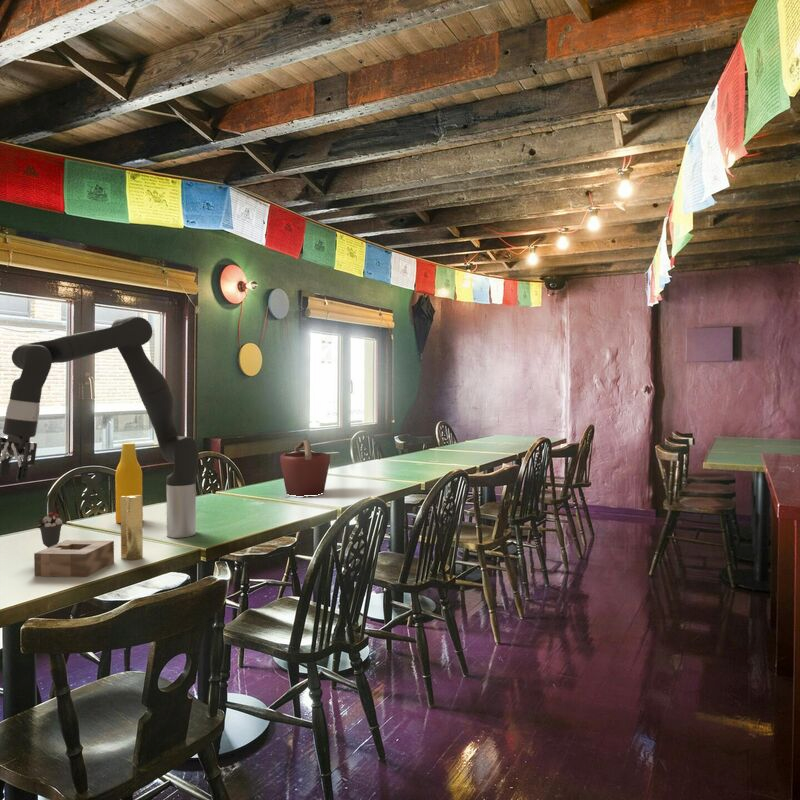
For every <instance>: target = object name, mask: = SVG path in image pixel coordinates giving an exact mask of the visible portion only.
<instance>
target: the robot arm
mask: <svg viewBox="0 0 800 800" xmlns="http://www.w3.org/2000/svg"><path fill="white" fill-rule="evenodd" d="M152 337H153V326H152V324H151V323H150V322H149V321H148V320H147V319H146V318H144V317H141V316H135V315H134V316H127V317H120V318H117V319H115V320H114V321H113V322H112V323H111V326H110V327H107V328H106V327H105V328H102V329H101V328H100V329H95V330H89V331H85V332H84V331H83V332H82V331H81V332H78V333H73V334H68V335H64V336H61V337H56V338H53V339H49V340H42V341H36V342H35V341H34V342H30V343H25V344H21V345H19V346H17V347H16V348H15V349H14V350H13V351H12V354H11V361H12V363H13V364H14V366H15V367H17V368H18V369H20V370H21V373H20V376H19V378H16V379H14V380H13V382H12V385H11V390H10V396H9V400H8V401H9V402H8V404H7V407H6V412H5V418H4V424H3V430H2V433H3V435H6V436H0V477H8V476H9V475H10V468H11V461H12V460H13V459H15V460H17V463H18V466H17V471H16V476H15V477H16V479H15V480H16V481H18V482H25V481H26V480H27V478H28V477H27V476H28V469H29V467H31V466H34V465H35V462H36V456H37V447H38V443H37V442H33V441H32V442H31V441H30V440H31V439H30V438H34V437H36V435H37V429H38V424H39V417H40V403H41V399H42V391H43V390H42V389H43V387H44V385H45V383H46V381H47V379H48V376H49V373H50V371H51V368H52V364H60V363H67V362H71V361H75V360H79V359H82V358H85V357H89V356H92V355H95V354H98V353H101V352H105V351H109V350H112V349H118V351H119V353H120V355H121V357H122V358H123V360H124V362H125V364H126V366H127V368H128V371H129V374H130V375H131V378H132V380H133V383H134V384H135V387H136V389H137V392H138V395H139V397H140V399H141V402H142V404H143V406H144V409H145V410H146V413H147V415H148V418H149V420H150V423H151V425H152V427H153V428H152V429H154V430H153V431H154V432H155V437H156V439H157V440H156V441H157V443H158V447H159V449H160V453H161V455H162V457H163V459H164V460H165V461H166V462H169V463H171V464H173V471H172V473H171V474H169V475H167V476H166V484H165V485H166V487H165V488H166V536H167V537H168V538H173V539H177V538H179V539H181V538H189V537H193V536H195V535H196V534H197V507H196V506H197V505H196V504H197V503H196V502H197V498H196V497H197V496H196V495H197V491H196V482H197V481H196V480H197V476H198V473H199V460H200V458H199V455H200V453H199V451H200V450H199V446H198V441H196V440H195V439H194V438H193V437H191V436H184V435H183V436H182V435H180V434H179V432H178V430H177V428H176V425H175V423H174V418H173V412H174V411H173V410H174V397H173V393H172V391H171V389H170V386H169V384H168V381H167V379H166V378H165V376H164V375H163V374H162V373H161V372H160V370H159V369H158V368H157V367H156V366H155V365H154V364H153V363H152V362H151V360H150V359H149V358H148V356H147V355H146V352H145V350H144V348H143V345H146V344H147V343H148V342H150V340H151V338H152Z"/></svg>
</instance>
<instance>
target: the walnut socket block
mask: <svg viewBox="0 0 800 800" xmlns="http://www.w3.org/2000/svg"><path fill="white" fill-rule="evenodd" d="M33 558H34V559H33V561H34V565H33V566H34V569H33V570H34V577H63V576H64V577H66V576H68V578H69V577H70V578H71V577H72V578H74V577H76V578H86V576H87V577H88V576H90V575H92V574H94V573H95V572H97V570H98V571H100V570H101V569H103V568H105V567H107V566H108V565H110V563H111V564H112V562H113V563H114V562H115V541H114V540H93V539H92V540H89V539H88V540H86V539H84V540H83V539H80V540H79V539H78V540H77V539H72V540H71V539H70V540H69V539H67V540H63V541H61V542H58V543H57V544H56V545H53V546H51V547H47V548H43V549H42V550H39V551H36V552H34V555H33ZM99 569H100V570H99ZM66 578H67V577H66Z"/></svg>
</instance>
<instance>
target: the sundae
mask: <svg viewBox="0 0 800 800" xmlns="http://www.w3.org/2000/svg"><path fill="white" fill-rule="evenodd" d="M58 509H59V506H55V508H54V510H53V511H51V512H49V514H48V515H46V516H44V518H43V519H42V521H41V519H40V518H39V519H38V523H39V524H38V525H36V526H37V529H39V530H40V536H41V540H42V544H43V545H44V546H45V547H47V548H48V547H51V546H53V545H56V544H58V543H60V536H61V529H62V526H63V525H64V522H62V520H61V519H60V517H59V514H58V513H57V511H58ZM54 512H55V514H54Z"/></svg>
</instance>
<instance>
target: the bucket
mask: <svg viewBox="0 0 800 800" xmlns="http://www.w3.org/2000/svg"><path fill="white" fill-rule="evenodd" d="M303 447H304V451H301V448H303ZM279 459H280V461H279V463H280V467H281V471H282V477H283V482H284V483H283V484H284V487H285V492H286V493H285V494H286V495H287V494H289V495H296V496H304V495H318V494H321V493H325V488H326V483H327V477H328V472H329V467H330V464H331V454H330V453H325V452H320V451H319V452H317V451H316V452H315V451H313V452H312V446H311V442H310V440H308V439H304V440H301V441H300V442H299V443H298V444H297V445H296V446H295V447H294V452H288V453H287V452H285V453H282V454H281V455H280V458H279Z"/></svg>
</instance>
